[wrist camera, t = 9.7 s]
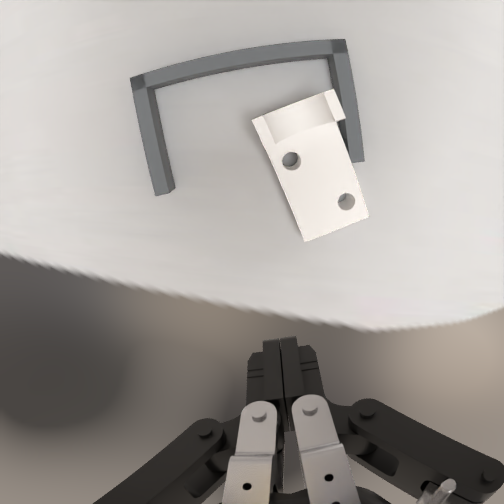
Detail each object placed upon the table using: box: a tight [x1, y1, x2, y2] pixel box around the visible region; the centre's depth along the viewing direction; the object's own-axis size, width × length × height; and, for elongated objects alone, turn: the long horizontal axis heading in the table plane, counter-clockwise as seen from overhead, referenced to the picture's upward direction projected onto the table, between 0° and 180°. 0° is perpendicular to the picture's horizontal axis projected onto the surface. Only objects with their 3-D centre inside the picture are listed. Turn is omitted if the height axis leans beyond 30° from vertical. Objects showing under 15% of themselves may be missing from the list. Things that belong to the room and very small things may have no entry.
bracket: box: [252, 89, 369, 242], centre depth 29 cm, size 13×7×8 cm, turn 24°
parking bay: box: [130, 39, 365, 196], centre depth 29 cm, size 12×21×2 cm, turn 100°
